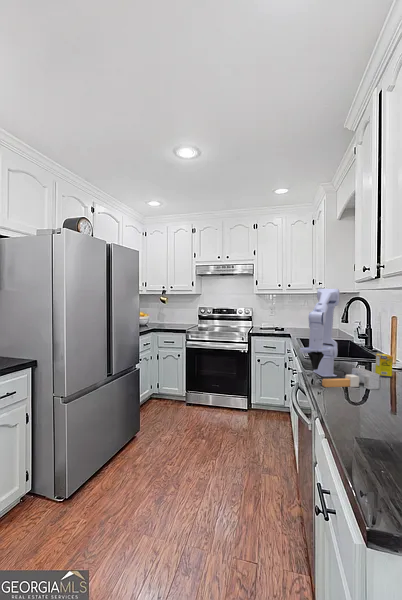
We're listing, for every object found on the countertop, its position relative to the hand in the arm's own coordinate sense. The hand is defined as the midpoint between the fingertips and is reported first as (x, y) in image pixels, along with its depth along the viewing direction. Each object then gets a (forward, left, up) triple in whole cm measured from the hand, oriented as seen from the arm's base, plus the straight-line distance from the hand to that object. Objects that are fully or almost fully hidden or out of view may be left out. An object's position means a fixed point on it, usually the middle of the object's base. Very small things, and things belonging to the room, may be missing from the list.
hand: (315, 369), depth 136 cm
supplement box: (-14, +47, -8) cm, 49 cm away
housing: (0, +25, -8) cm, 26 cm away
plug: (0, +13, -8) cm, 15 cm away
